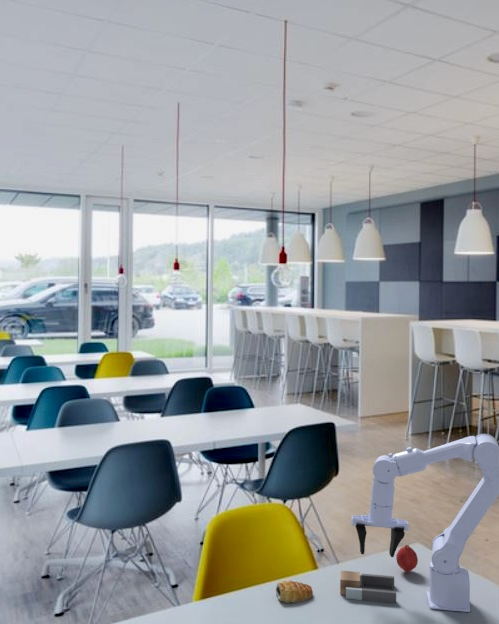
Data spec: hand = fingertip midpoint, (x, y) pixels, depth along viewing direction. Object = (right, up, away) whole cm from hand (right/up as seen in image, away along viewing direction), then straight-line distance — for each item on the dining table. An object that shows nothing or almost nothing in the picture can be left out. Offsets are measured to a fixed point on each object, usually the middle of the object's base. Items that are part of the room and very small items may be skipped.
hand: (376, 553), depth 151 cm
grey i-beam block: (-1, -10, +1) cm, 10 cm away
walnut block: (-7, -10, +2) cm, 12 cm away
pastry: (-22, -11, -1) cm, 25 cm away
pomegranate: (+11, -10, +11) cm, 19 cm away
